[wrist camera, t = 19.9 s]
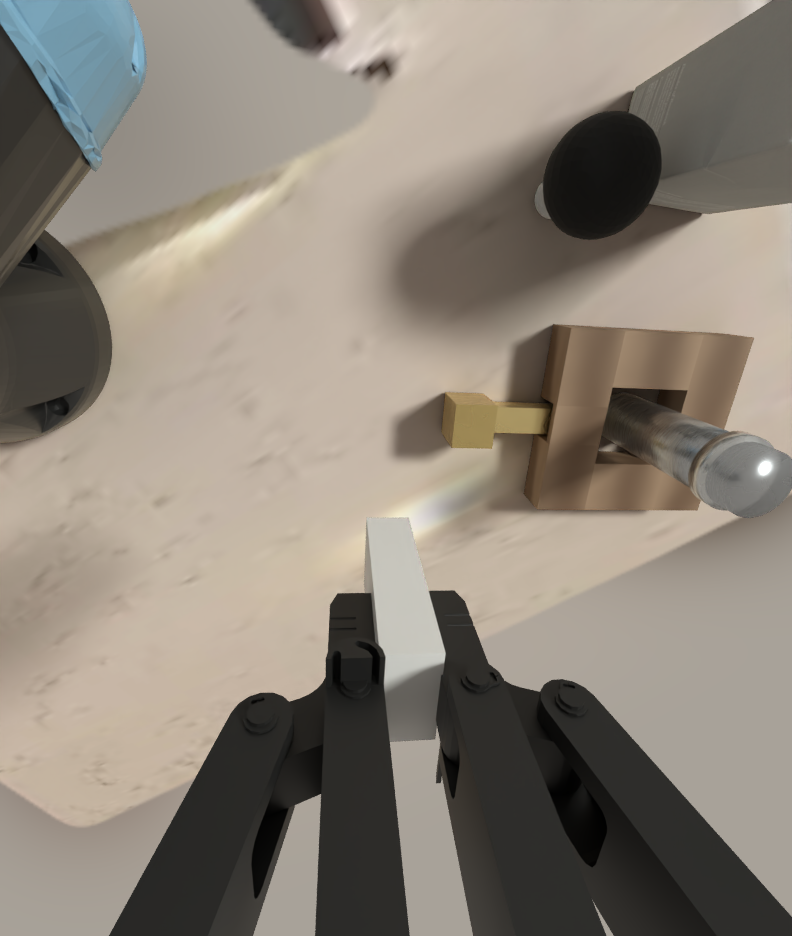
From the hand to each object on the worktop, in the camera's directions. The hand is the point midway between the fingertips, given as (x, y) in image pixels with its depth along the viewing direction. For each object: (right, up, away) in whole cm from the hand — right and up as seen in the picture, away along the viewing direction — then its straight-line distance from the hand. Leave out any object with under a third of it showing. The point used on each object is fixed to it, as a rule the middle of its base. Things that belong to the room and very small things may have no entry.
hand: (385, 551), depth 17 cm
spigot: (+19, +7, +21) cm, 29 cm away
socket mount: (+19, +7, +21) cm, 29 cm away
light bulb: (+11, +21, +15) cm, 28 cm away
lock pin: (+10, +7, +20) cm, 24 cm away
